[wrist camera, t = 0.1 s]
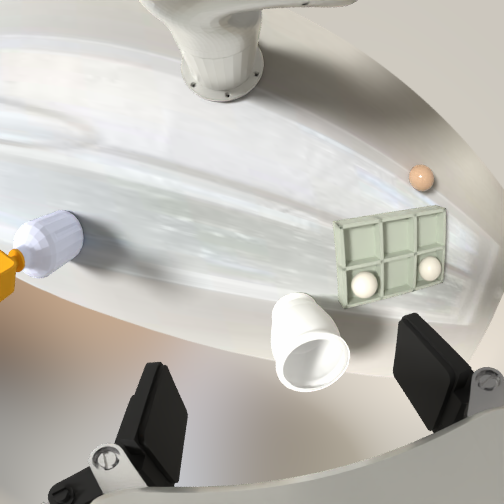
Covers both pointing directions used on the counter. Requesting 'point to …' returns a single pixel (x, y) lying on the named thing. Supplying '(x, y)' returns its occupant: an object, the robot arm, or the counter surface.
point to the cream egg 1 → (364, 284)
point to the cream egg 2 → (429, 268)
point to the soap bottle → (41, 248)
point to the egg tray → (388, 251)
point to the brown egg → (421, 177)
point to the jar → (306, 344)
